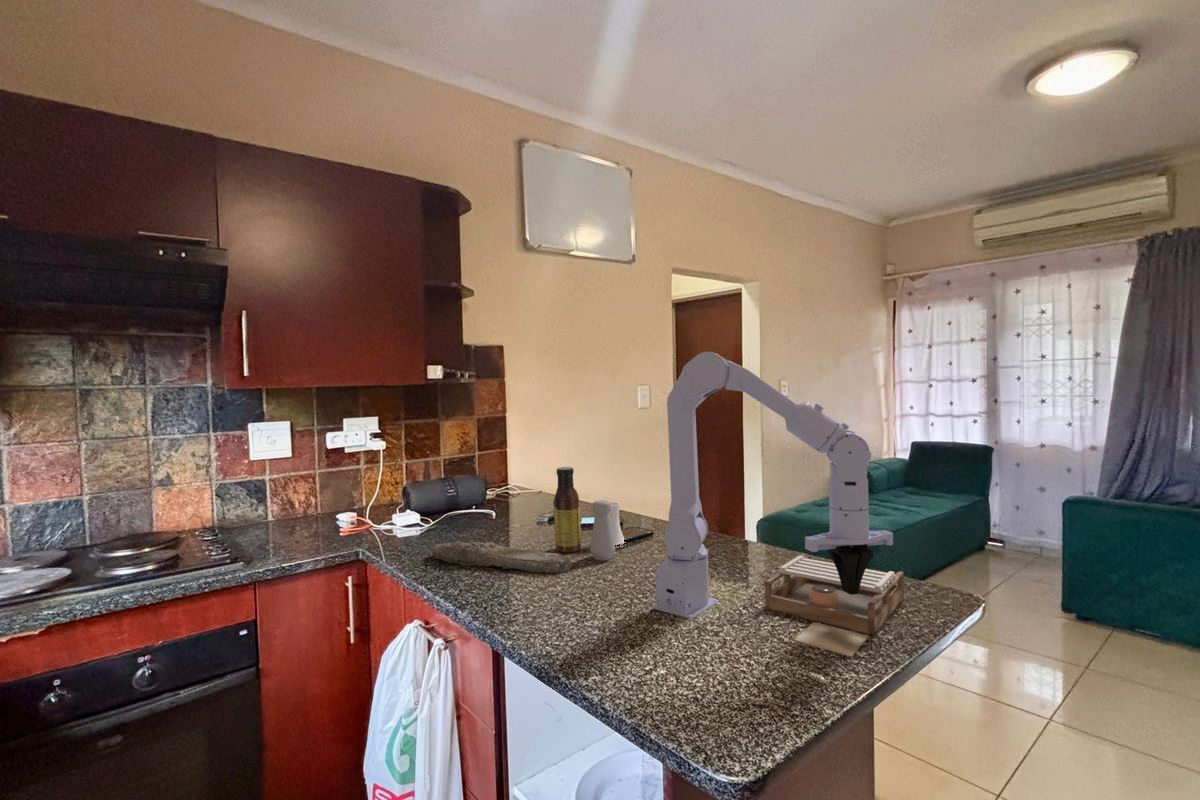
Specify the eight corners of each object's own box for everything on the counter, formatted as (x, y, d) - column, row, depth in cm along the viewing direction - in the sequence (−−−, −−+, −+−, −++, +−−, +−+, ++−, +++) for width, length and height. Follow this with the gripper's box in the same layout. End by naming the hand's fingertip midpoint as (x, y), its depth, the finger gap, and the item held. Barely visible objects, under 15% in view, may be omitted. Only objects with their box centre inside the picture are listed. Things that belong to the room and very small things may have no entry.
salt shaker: (601, 563, 121) (600, 504, 121) (584, 558, 125) (583, 501, 125) (620, 558, 125) (619, 500, 124) (603, 553, 129) (602, 497, 129)
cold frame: (873, 637, 82) (873, 604, 82) (765, 610, 93) (764, 581, 93) (904, 599, 96) (903, 572, 96) (806, 580, 107) (806, 555, 107)
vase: (589, 545, 136) (588, 505, 136) (609, 538, 142) (608, 500, 141) (612, 550, 131) (611, 508, 131) (632, 543, 137) (631, 503, 136)
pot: (833, 621, 87) (832, 595, 87) (805, 614, 90) (804, 589, 90) (842, 612, 90) (841, 588, 90) (815, 606, 93) (814, 582, 93)
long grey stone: (558, 586, 112) (578, 573, 121) (559, 560, 112) (579, 549, 121) (419, 561, 125) (447, 551, 134) (421, 537, 125) (448, 529, 134)
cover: (881, 593, 86) (881, 586, 86) (779, 572, 97) (779, 566, 97) (895, 578, 93) (895, 572, 93) (798, 560, 104) (798, 555, 104)
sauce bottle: (566, 545, 136) (564, 465, 136) (586, 548, 133) (584, 466, 133) (549, 551, 131) (547, 468, 131) (569, 555, 127) (567, 470, 127)
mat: (851, 659, 75) (851, 655, 75) (794, 643, 81) (794, 639, 81) (868, 639, 81) (868, 635, 81) (813, 625, 87) (813, 621, 87)
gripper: (871, 500, 93) (872, 579, 93) (793, 505, 90) (795, 588, 90) (902, 508, 86) (903, 594, 86) (819, 514, 83) (821, 603, 83)
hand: (850, 592), depth 88 cm, fingers closed
